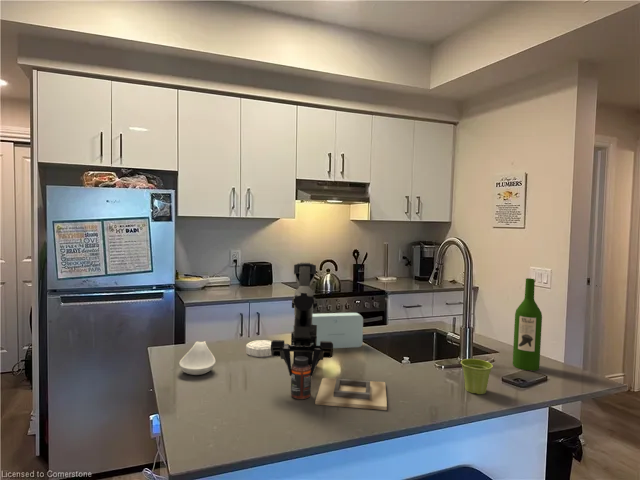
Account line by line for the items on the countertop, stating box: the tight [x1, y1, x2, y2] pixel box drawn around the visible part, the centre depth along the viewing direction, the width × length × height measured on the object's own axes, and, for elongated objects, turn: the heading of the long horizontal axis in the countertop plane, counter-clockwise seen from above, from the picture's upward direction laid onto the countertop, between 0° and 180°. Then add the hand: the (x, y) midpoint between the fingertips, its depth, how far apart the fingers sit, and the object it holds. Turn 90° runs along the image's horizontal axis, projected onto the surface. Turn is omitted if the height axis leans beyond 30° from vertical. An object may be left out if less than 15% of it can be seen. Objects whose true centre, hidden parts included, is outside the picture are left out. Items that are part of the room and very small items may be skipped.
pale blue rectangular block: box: [312, 312, 364, 349], centre depth 176 cm, size 23×6×13 cm, turn 103°
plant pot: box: [460, 358, 494, 395], centre depth 134 cm, size 9×9×9 cm
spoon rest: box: [178, 340, 217, 376], centre depth 149 cm, size 24×12×7 cm, turn 12°
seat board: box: [314, 377, 388, 411], centre depth 129 cm, size 20×18×2 cm
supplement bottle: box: [290, 356, 312, 400], centre depth 126 cm, size 6×6×11 cm
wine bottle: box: [512, 277, 543, 372], centre depth 157 cm, size 9×9×32 cm
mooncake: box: [245, 339, 273, 358], centre depth 167 cm, size 12×12×4 cm
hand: (300, 375), depth 125 cm, fingers closed on supplement bottle, 6 cm apart
